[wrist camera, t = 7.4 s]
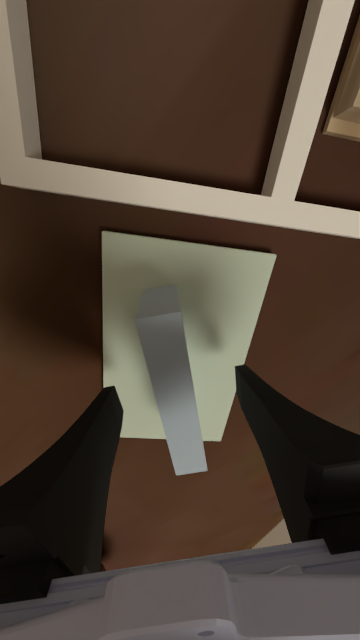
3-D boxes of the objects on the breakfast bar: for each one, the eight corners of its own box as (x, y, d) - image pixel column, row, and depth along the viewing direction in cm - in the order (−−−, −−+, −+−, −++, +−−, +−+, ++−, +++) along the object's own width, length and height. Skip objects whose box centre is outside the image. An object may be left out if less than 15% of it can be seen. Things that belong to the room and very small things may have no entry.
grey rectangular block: (176, 284, 13) (180, 311, 9) (198, 414, 18) (207, 470, 14) (144, 289, 13) (134, 319, 9) (174, 418, 18) (176, 475, 14)
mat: (272, 253, 13) (276, 254, 13) (219, 435, 20) (220, 441, 19) (104, 230, 12) (101, 231, 12) (105, 430, 19) (104, 436, 18)
